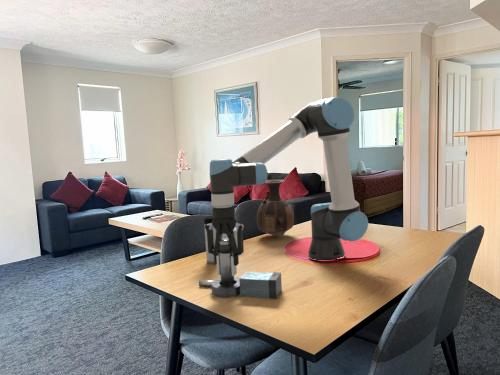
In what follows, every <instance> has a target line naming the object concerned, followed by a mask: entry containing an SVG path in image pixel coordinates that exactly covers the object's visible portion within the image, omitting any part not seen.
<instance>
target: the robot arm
mask: <svg viewBox="0 0 500 375" xmlns="http://www.w3.org/2000/svg"><path fill="white" fill-rule="evenodd" d="M354 120H355V110H354V107H353V106H352V103H351V102H350V101H348V100H347V99H346V98H344V97H341V96H330V97H327V98H324V99H320V100H315V101H312V102H310V103H308V104H307V105H305V106H304V107H303V108H301V109H300V110H298V111H297V112H296V113H295V114H294V115H292V116H290V117H289V118H288V122H287V123H285V124H284V125H282V126H281V127H279V128H278V129H277V130H275V131H274V132H273V133H271V134H270V135H269V136H267V137H266V138H264V139H263V140H261V141H260V142H259V143H258V144H256V145H254V147H251V149H249V150H248V151H247V152H245V153H244V154H242V155H241V156H239V157H237V159H235V160H234V161H233V160H232V159H231V158H221V159H219V158H218V159H212V160H210V162H209V179H210V194H211V195H210V196H211V198H210V200H211V206H212V208H211V213H212V214H211V216H213V221H212V223H210V224H207V225H204V226H205V227H204V230H205V229H206V231H207V242H208V253H209V254H213V255H214V263H215V264H214V265H216V272H217V274H216V275H217V276H221V275H220V258H219V246H218V244H219V240H221V239H222V235H223V233H224V234H227V237H228V239H229V243H230V246H231V250H232V253H233V256H231V268H232V276H234V277H236V276H235V275H237V270H238V269H237V266H238V265H239V263H240V261H239V256H241V255H242V254H243V253H244V251H245V249H244V229H245V225H244V224H243V223H239V222H238V221H237V220H236V208H235V206H234V204H235V190H234V189H235V188H236V187H238V188H239V187H247V186H258V185H263V184H266V183H265V182H266V181H267V180H268V169H267V166H266V163H267V162H269V161H270V160H272V159H273V158H275V157H276V156H277V155H278V154H280V153H281V152H282V151H284V150H286V148H288V147H289V146H290V145H292V144H293V143H294V142H296V141H297V140H299V139H305V138H306V137H307V136H309V135H310V134H313V133H317V137H318V139H320V140H321V141H322V142H323V150H324V156H325V164H326V171H327V178H328V186H329V194H330V198H331V202H325V203H316V204H313V205H312V206H311V208H310V216H311V217H310V218H311V219H310V220H311V222H310V224H311V242H310V246H309V248H308V253H307V254H308V258H309V257H310V258H312V259H316V260H332V259H337V258H340V257H343V256H344V255H345V256H346V252H345V249H344V246H343V243H342V240H343V241H349V242H356V241H359V240H360V239H362V238H363V237H364V235H365V233H367V231H368V227H369V219H368V217H367V215H366V214H365V213H364V212H362V211H361V207H360V203H359V202H358V201H357V200H356V199H355V193H354V185H353V178H352V171H351V163H350V155H349V148H348V140H347V138H348V135H349V134H350V133H351V130H350V127H351V126H352V124H353V121H354ZM213 227H214V228H215V229H216V240H215V246H214V238H213ZM234 228H236V230H238V231H237V243H238V248H237V244H236V241H235V237H234V231H233V229H234ZM310 258H309V259H310Z"/></svg>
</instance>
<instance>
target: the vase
mask: <svg viewBox="0 0 500 375" xmlns="http://www.w3.org/2000/svg"><path fill="white" fill-rule="evenodd" d="M285 181H286V180H285V179H267V180H266V182H265V183H264V184H266V185H267V186H268V192H269V193H268V198H267V199H265V198H264V199H263V200H262V201H261V204H260V205H259V207H258V209H257V213H256V224H257V228H258V230H259V231H261V232H262V233H265V234H268V235H271V236H273V237H275V238H276V237H279V236H284V235H285V234H286V233H287V232H288V231H290V230H291V229H292V228H293V226H294V221H295V219H294V218H295V217H294V213H293V209H292V207H291V206H290V204H289V202H287V201H286V200H285V199H283V198H282V197H281V195H280V187H281V184H282V183H284V182H285Z"/></svg>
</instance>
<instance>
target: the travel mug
mask: <svg viewBox="0 0 500 375" xmlns="http://www.w3.org/2000/svg"><path fill="white" fill-rule="evenodd" d="M203 220H204V221H203V222H204V223H203V224H204V238H205V241H204V242H205V254H206V263H207V264H209V263H210V264H212V265H216V264H215V263H214V255H213V254H209V253H208V242H207V231H206V229H205V225H207V224H210V223H212V221H213V216H212V215H211V216H206V217H205V218H204V219H203ZM213 238H214V246H215V240H216V229H215V228H214V227H213Z"/></svg>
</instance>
